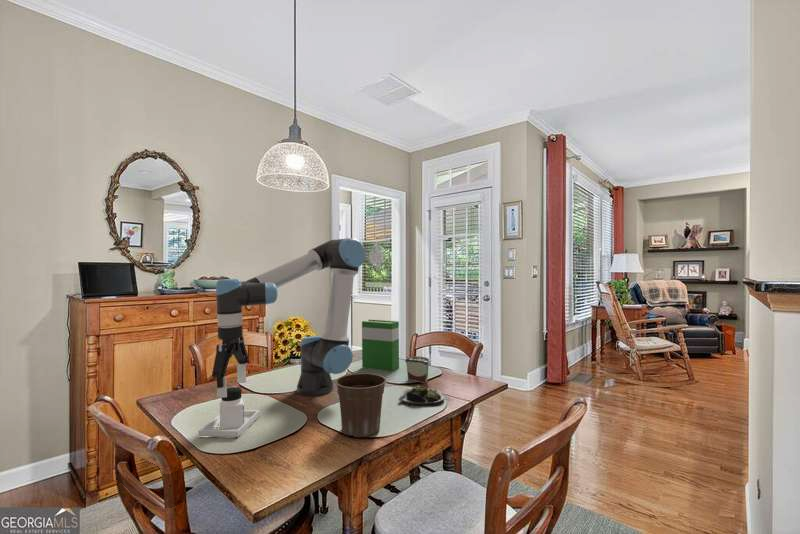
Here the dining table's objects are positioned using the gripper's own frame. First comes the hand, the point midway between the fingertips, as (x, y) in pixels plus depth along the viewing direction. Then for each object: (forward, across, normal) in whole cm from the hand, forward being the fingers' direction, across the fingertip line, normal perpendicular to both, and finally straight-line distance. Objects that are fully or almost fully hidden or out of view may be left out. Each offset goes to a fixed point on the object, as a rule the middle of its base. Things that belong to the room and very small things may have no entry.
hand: (232, 389), depth 125 cm
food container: (+14, -51, +63) cm, 82 cm away
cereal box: (+14, -71, +43) cm, 84 cm away
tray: (+12, +1, -1) cm, 12 cm away
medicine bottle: (+12, 0, -1) cm, 12 cm away
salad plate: (+14, -26, +63) cm, 70 cm away
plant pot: (+13, +2, +43) cm, 45 cm away
